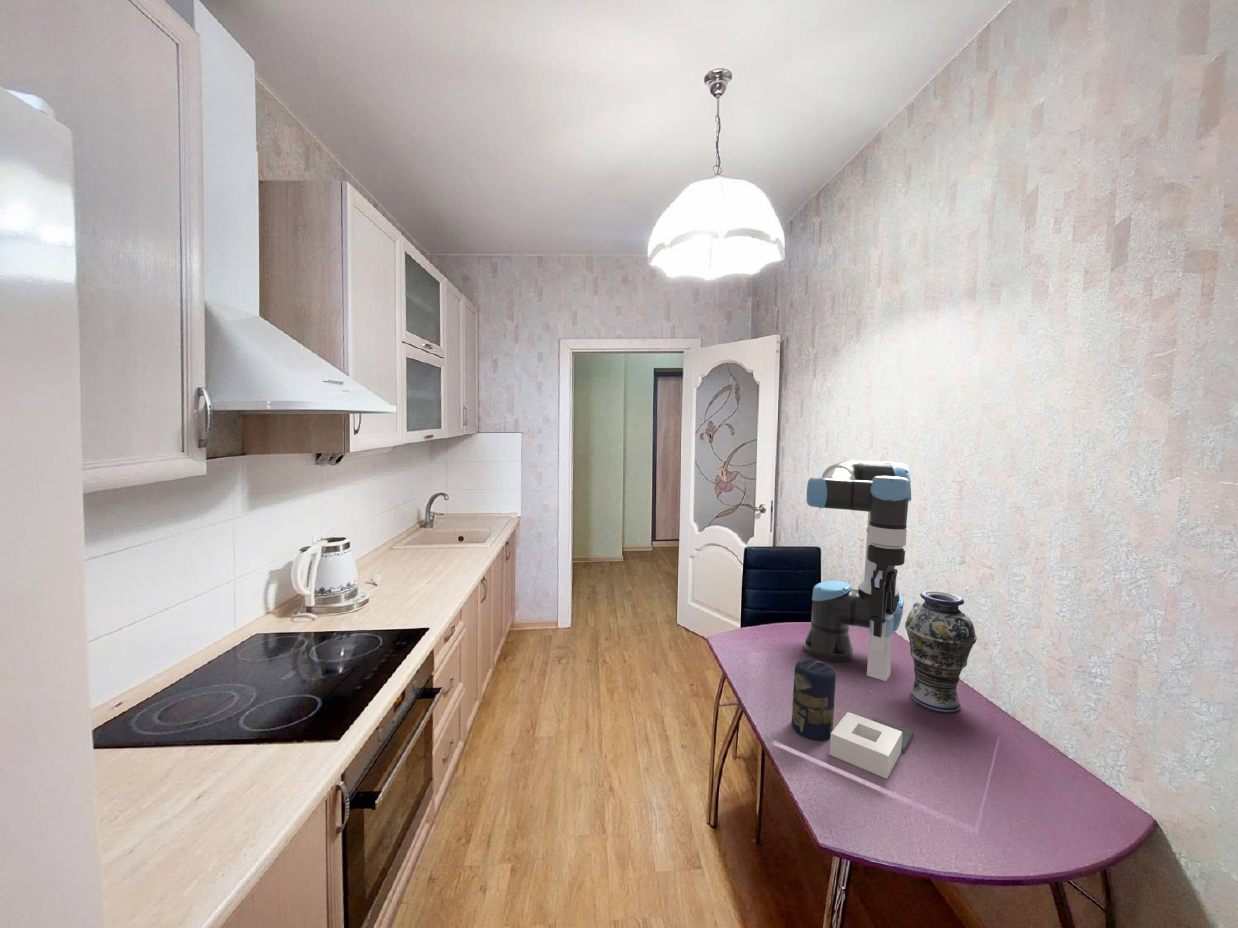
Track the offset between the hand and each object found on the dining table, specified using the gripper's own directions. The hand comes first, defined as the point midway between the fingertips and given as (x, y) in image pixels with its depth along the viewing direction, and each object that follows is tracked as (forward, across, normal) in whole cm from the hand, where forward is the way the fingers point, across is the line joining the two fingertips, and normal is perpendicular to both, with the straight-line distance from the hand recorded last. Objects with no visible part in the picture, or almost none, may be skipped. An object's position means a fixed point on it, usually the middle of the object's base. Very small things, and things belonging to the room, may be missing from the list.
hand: (880, 645), depth 120 cm
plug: (+7, 0, 0) cm, 7 cm away
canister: (+26, +1, -14) cm, 29 cm away
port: (+26, +3, -1) cm, 26 cm away
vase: (+25, -36, +6) cm, 44 cm away
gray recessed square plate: (+25, -8, +1) cm, 27 cm away
